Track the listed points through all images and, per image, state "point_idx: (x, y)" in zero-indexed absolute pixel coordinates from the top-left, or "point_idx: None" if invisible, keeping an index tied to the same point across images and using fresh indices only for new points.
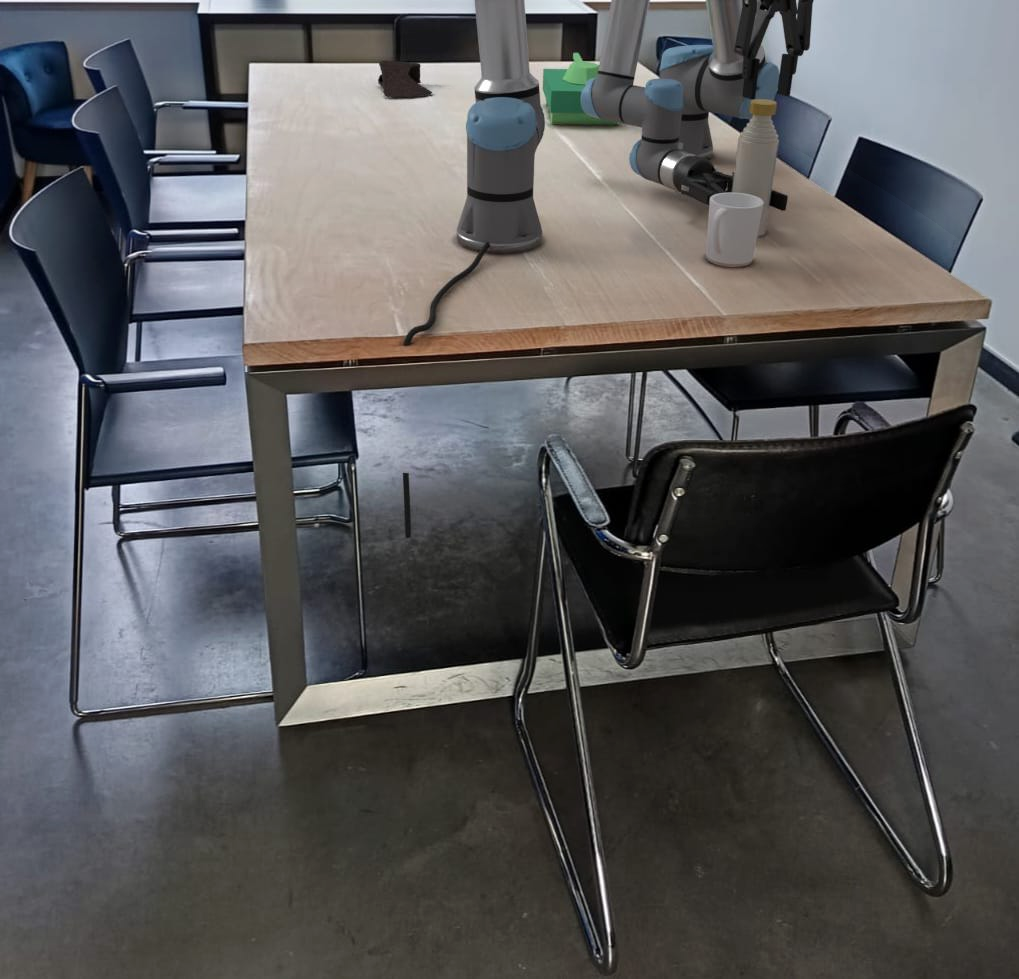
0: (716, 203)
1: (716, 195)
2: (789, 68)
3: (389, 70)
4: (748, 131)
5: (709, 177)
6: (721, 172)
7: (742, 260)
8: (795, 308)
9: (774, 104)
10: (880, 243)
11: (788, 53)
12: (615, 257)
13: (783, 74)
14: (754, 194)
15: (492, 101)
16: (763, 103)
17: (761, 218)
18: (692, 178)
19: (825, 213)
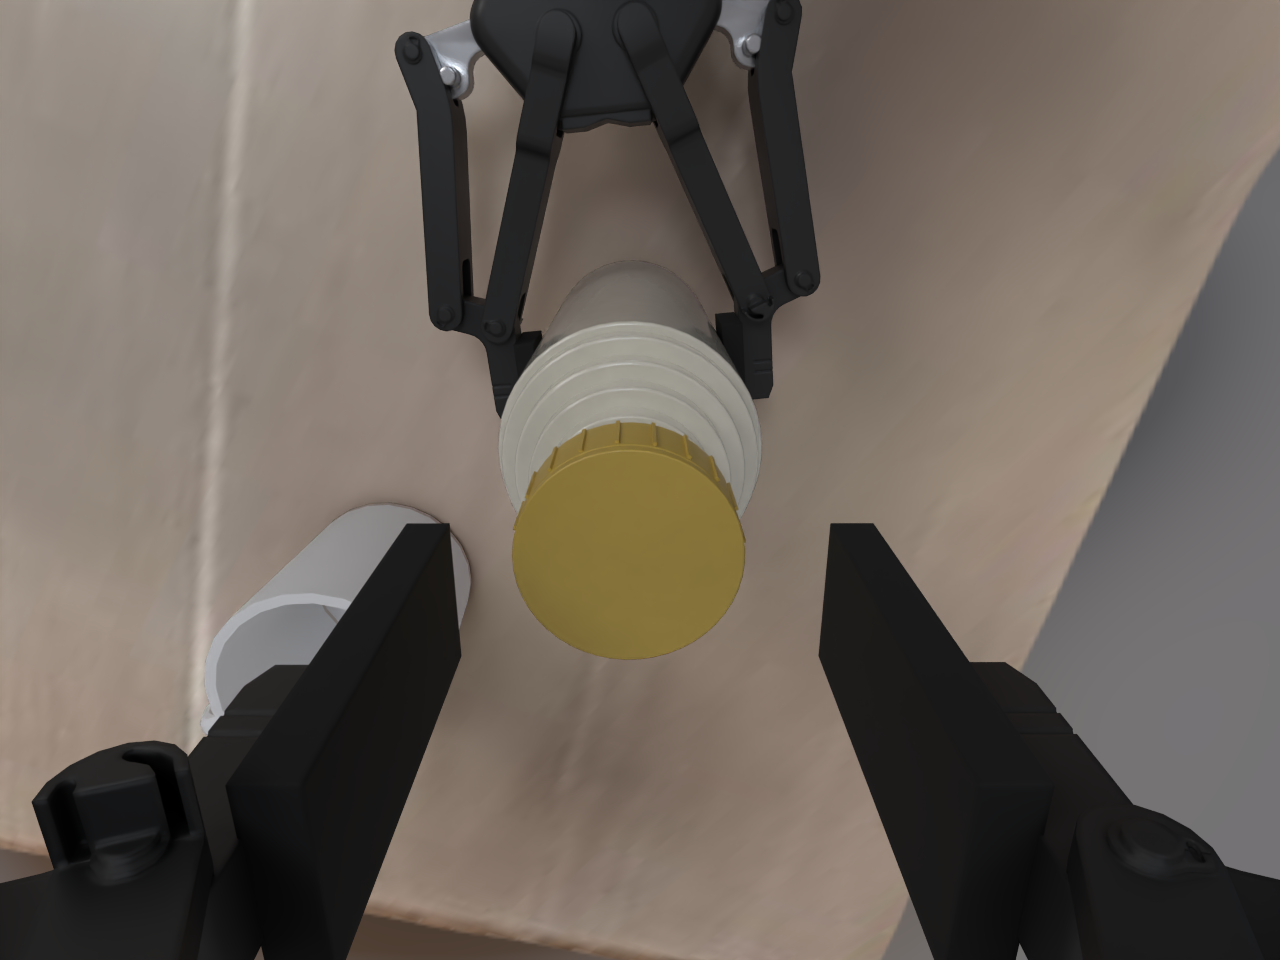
0: (211, 700)
1: (265, 610)
2: (889, 835)
3: None
4: (520, 489)
5: (548, 93)
6: (660, 43)
7: None
8: (385, 894)
9: (664, 652)
10: (986, 619)
11: (1043, 861)
12: (6, 406)
13: (878, 686)
14: None
15: None
16: (586, 608)
17: None
18: (484, 10)
19: (1096, 269)
